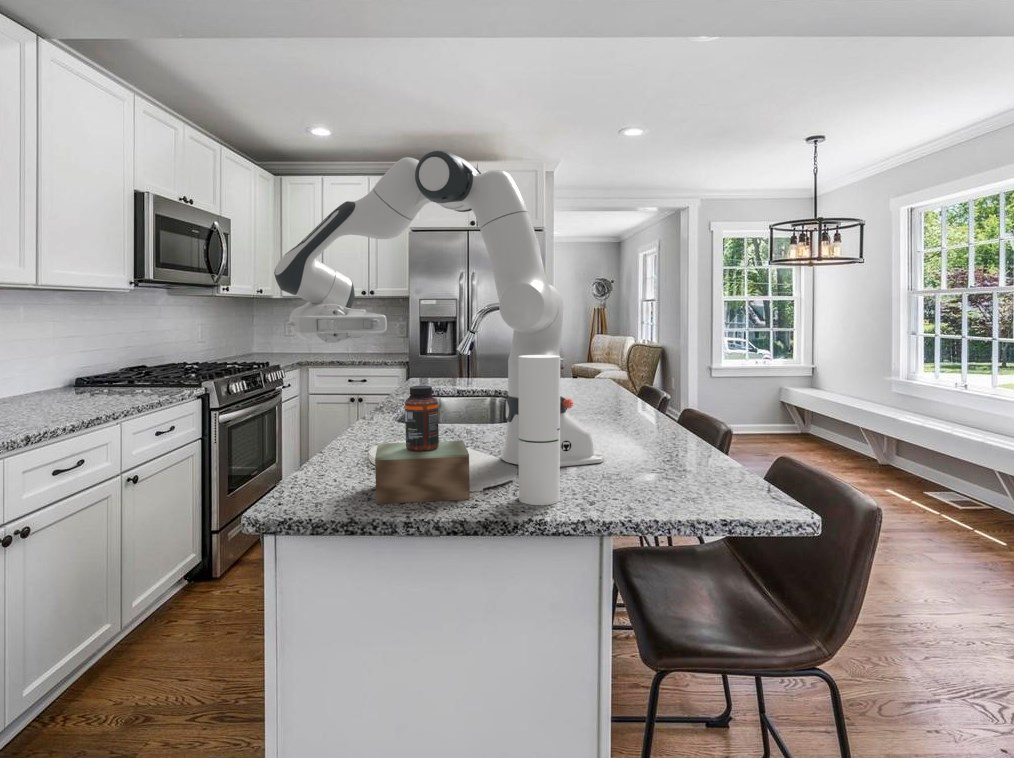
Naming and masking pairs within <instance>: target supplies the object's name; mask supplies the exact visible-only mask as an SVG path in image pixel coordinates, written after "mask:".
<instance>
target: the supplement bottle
mask: <svg viewBox="0 0 1014 758" xmlns="http://www.w3.org/2000/svg"><path fill="white" fill-rule="evenodd" d="M438 403H439V402H438V400H437V398H436V397H433V387H432V386H431V385H413V386H410V387H409V397H408V398H407V399H406V400H405V401H404V418H405V419H404V423H405V424H404V425H405V426H404V427H405V443H406V448H407V449H408V450H412V451H430V450H434V449H436V448H437V447H438V446H439V441H440V439H439V438H440V437H439V404H438Z"/></svg>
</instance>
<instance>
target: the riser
mask: <svg viewBox="0 0 1014 758" xmlns="http://www.w3.org/2000/svg"><path fill="white" fill-rule="evenodd" d="M374 456H375V457H374V462H375V463H374V464H375V465H374V467H375V469H374V470H375V471H374V472H375V500H376V501H375V502H376V505H379V504H398V503H399V504H400V503H401V504H402V503H403V504H405V503H420V502H421V503H422V502H423V503H424V502H439V501H440V502H441V501H443V502H444V501H460V500H461V501H462V500H470V489H471V488H470V487H471V486H470V453H469V451H468V449H467V447H466V444H465V442H464V440H444V441H443V440H441V441H440V440H439V446H438V447H437V448H436V449H434V450H430V451H412V450H408V449H407V448H406V442H387V443H386V442H384V443H382V442H381V443H377V447H376V451H375V455H374Z"/></svg>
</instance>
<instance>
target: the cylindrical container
mask: <svg viewBox="0 0 1014 758" xmlns="http://www.w3.org/2000/svg"><path fill="white" fill-rule="evenodd" d="M518 379H519V464H518V500H519V502H520V503H523V504H526V505H531V506H548V505H554V504H557V503H558V502H560V500H561V499H560V497H561V496H560V495H561V493H560V492H561V490H560V488H561V487H560V486H561V485H560V483H561V482H560V481H561V473H560V472H561V470H560V469H561V467H560V396H561V355H559V356H556V355H523V356H518Z"/></svg>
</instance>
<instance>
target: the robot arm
mask: <svg viewBox="0 0 1014 758" xmlns="http://www.w3.org/2000/svg"><path fill="white" fill-rule="evenodd" d="M430 203H436V204H437V205H439V206H441V207H442V208H445V209H448V210H451V211H454V212H460V213H467V212H473V214H474V216H475V218H476V222H477V224H478V227H479V230H480V233H481V236H482V239H483V242H484V245H485V248H486V250H487V254H488V257H489V260H490V263H491V266H492V270H493V271H492V272H493V276H494V283H495V288H496V293H497V299H498V302H499V303H498V304H499V305H498V306H499V307H498V308H499V314H500V316H501V319H502V320H503V322H504V323H505V324H506V325H507V326H508V327H510V328H511V329H512V330H513V334H512V339H511V340H512V341H511V347H510V353H509V356H508V359H507V360H508V361H507V368H508V370H507V372H508V373H507V382H508V383H507V384H508V385H507V387H508V388H507V389H508V392H507V395H506V401H505V418H506V421H507V425H506V435H505V440H504V446H503V451H502V454H501V457H500V459H501V460H503V462H506V463H510V464H514V465H519V379H518V356H523V355H556V356H560V352H561V341H562V333H563V331H562V330H563V318H564V301H563V297H562V295H561V293H560V292H559V291H558V289H556V287H554V286H553V285H551V284H549V282H548V279H547V277H546V273H545V268H544V264H543V260H542V259H543V258H542V253H541V246H540V243H539V240H538V237H537V234H536V231H535V228H534V225H533V223H532V220H531V217H530V214H529V211H528V209H527V205H526V202H525V200H524V198H523V196H522V194H521V192H520V189H519V188H518V186H517V184H516V182H515V181H514V179H513V177H512V176H511V175H510V173H508V172H506V171H505V170H500V169H495V170H494V169H492V170H488V171H485V172H483V173H481V171H480V170H479V169H478V168H476V167H475V166H473V165H472V164H471V163H469V161H467V160H466V159H464V158H463V157H460V156H458V155H455V154H453V153H452V152H450V151H446V150H433V151H430V152H427V153H425V155H423V156H422V157H421V158H420V159H419V160H418V159H416V158H414V157H407V156H405V157H402V158H400V159H399V160H398V161H396V162H395V163H394V164H393V165H391V167H390V168H389V169H388V170H387V171H386V172H385V173H384V174H383V175H382V177H381V178H379V180H378V181H377V182H376V184H375V185H374V186H373V188H372V189H371V190H370V191H369V192H368V193H367V194H366V195H364V196H363V197H361V198H359V199H357V200H354V201H349V200H347V201H344V202H343V203H341V204H340V205H339V206H337V207H336V208H335V209H334V210H333V211H332V212H330V213H329V214H328V215H327V216H326V217H325V218H324V219H323V220H322V221H321V222H320V223H319V224H317V226H316V227H315V228H313V229H312V231H310V233H308V234H307V235H306V236H305V238H303V239H302V240H301V241H300V242H299V243H298V244H297V245H296V246H294V247H292V248H291V249H290V250H288V252H287V253H285V254H284V255H283V256H282V258H280V259H279V261H278V262H277V265H276V267H275V269H274V272H273V273H274V278H275V281H276V283H277V286H278V287H279V289H280V290H281V291H283V292H285V293H288V294H291V295H293V296H296V297H298V298H300V299H302V300H305V301H306V303H305V304H303V305H301V306H299V307H297V308H295V309H294V310H293V311H292V312H291V313H290V315H289V318H288V322H286V327H290V330H291V331H292V333H293V334H294V335H295V336H296V337H298V338H299V339H300V340H301V339H302V340H304V341H308V342H314V343H315V342H316V343H327V344H337V343H339V342H343V341H346V340H351V339H356V338H357V339H358V338H365V337H367V335H371V334H373V335H374V334H379V333H380V334H381V333H384V332H386V331H387V328H388V324H387V323H388V322H387V316H386V315H384V314H382V313H381V314H380V313H376V312H369V311H367V310H366V309H364V308H363V309H361V308H352V307H353V304H354V301H355V297H356V296H355V295H356V294H355V292H356V291H355V286H354V282H353V281H352V279H351V278H350V277H348V276H346V275H345V274H343V273H341V272H340V271H339V270H336V269H335V268H332V267H331V266H329V265H327V264H325V263H323V262H321V261H320V260H318V259H317V258H318V257H319V256H320V255H321V254H322V253H324V251H326V249H327V248H329V246H330V245H332V243H334V242H335V240H337V239H339V238H340V237H343V236H351V235H352V236H360V237H366V238H371V239H375V240H389V239H390V240H391V239H393V238H396V237H398V236H401V234H402V233H404V231H406V229H407V228H408V227H409V226H410V224H411V223H412V222H413V220H414V219H415V218H416V216H417V215H418V213H420V211H421V210H422V208H424V206H425V205H427V204H430ZM573 407H574V401H573V400H572V399H570V398H569V397H567V398H566V397H564V396H561V395H560V468H561V467H569V466H579V465H589V464H590V465H591V464H601V463H603V462H604V454H603V453H602V452H601V451H600V450H598V449H597V448H594V447H595V446H594V443H593V442H594V441H593V437H592V434H591V432H590V430H589V428H587V427H586V426H585V425H584V424H583V423H581V422H580V421H579V420H578V419H576V418H575V417H574V416H572V415H571V414H570V413H569V412H567V410H568V409H572V408H573Z"/></svg>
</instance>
